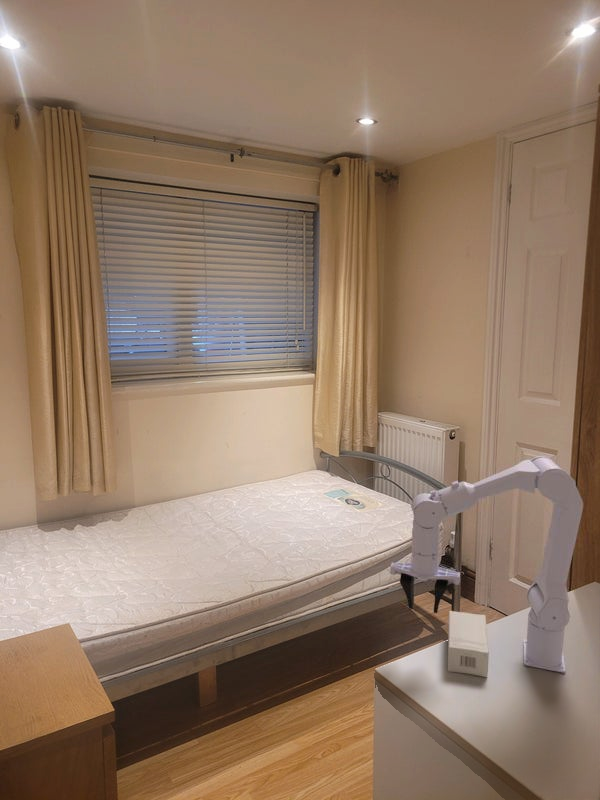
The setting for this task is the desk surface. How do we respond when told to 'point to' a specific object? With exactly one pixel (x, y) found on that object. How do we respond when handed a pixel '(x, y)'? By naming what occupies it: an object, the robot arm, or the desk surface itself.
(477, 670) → the skincare box
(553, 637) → the robot arm
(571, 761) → the desk surface
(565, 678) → the desk surface
